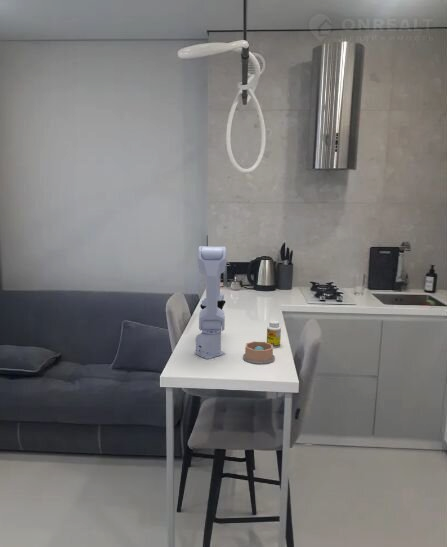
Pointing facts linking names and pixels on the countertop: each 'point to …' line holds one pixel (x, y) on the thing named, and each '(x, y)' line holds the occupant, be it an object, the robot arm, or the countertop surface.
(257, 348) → the ball
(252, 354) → the octagonal bowl
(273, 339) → the supplement bottle
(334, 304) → the countertop surface
